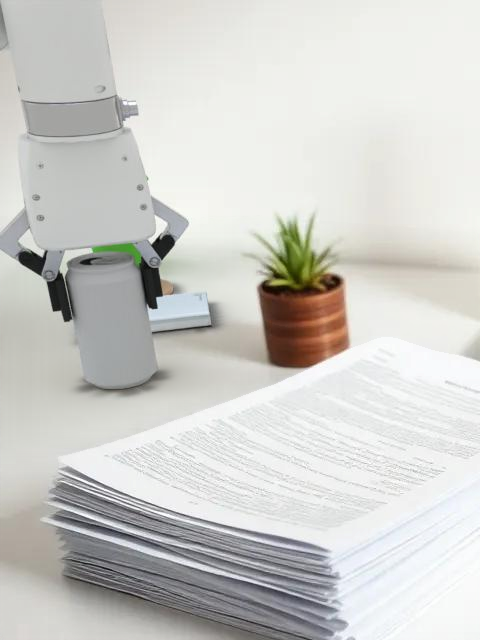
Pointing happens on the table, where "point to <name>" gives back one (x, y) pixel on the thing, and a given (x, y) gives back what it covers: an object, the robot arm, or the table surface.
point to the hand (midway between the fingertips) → (109, 309)
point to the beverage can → (111, 319)
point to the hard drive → (180, 311)
